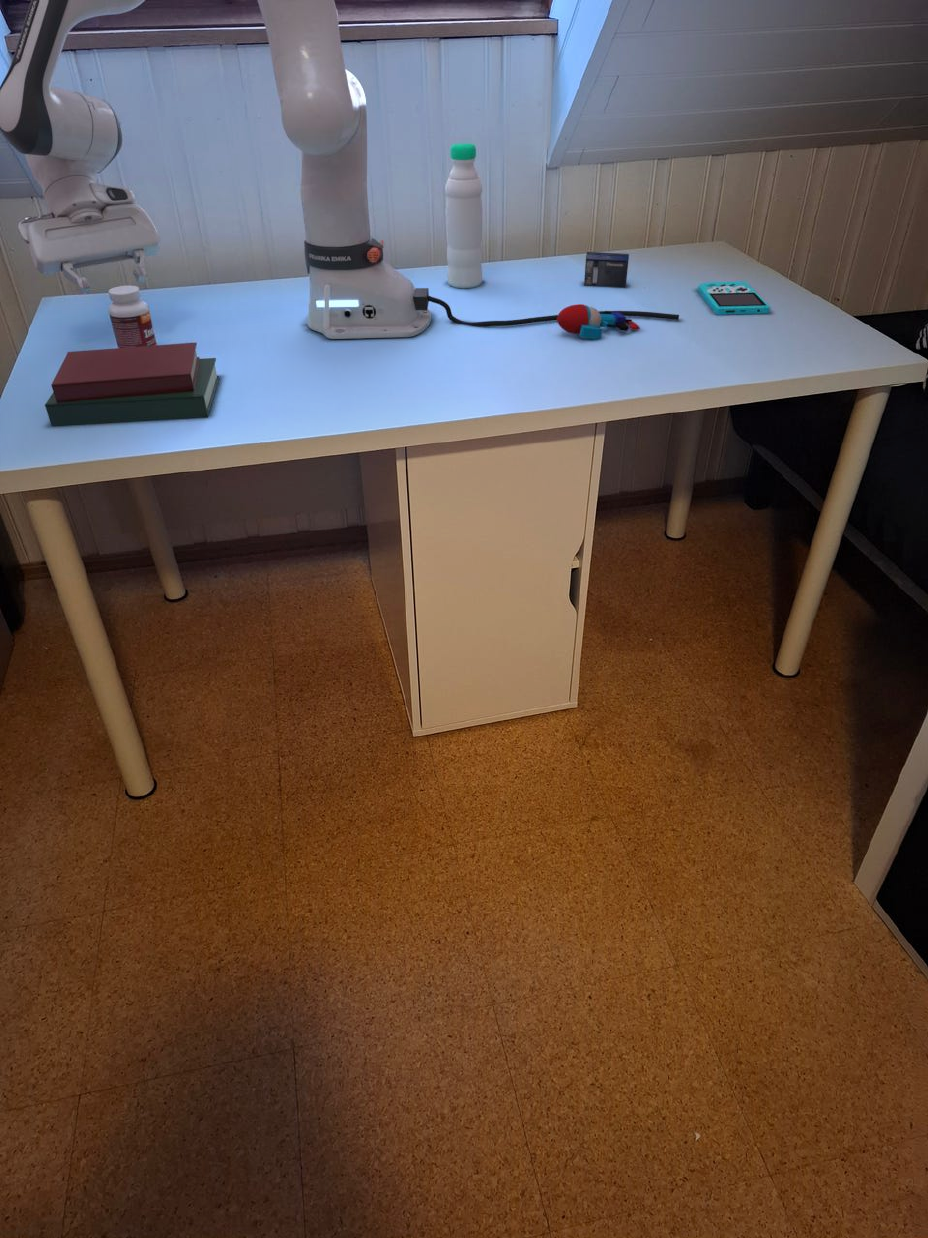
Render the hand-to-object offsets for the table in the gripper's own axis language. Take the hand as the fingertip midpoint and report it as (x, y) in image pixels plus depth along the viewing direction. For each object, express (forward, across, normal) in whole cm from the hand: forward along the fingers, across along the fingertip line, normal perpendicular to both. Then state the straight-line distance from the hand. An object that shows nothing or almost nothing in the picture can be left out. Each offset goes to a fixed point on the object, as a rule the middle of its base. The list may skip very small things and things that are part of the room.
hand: (114, 284), depth 142 cm
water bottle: (+12, +66, +3) cm, 68 cm away
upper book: (+21, -7, -10) cm, 24 cm away
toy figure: (+38, +68, -23) cm, 81 cm away
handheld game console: (+40, +100, -25) cm, 111 cm away
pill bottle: (+11, 0, +4) cm, 12 cm away
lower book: (+23, -6, -8) cm, 26 cm away
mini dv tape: (+25, +88, -10) cm, 92 cm away
